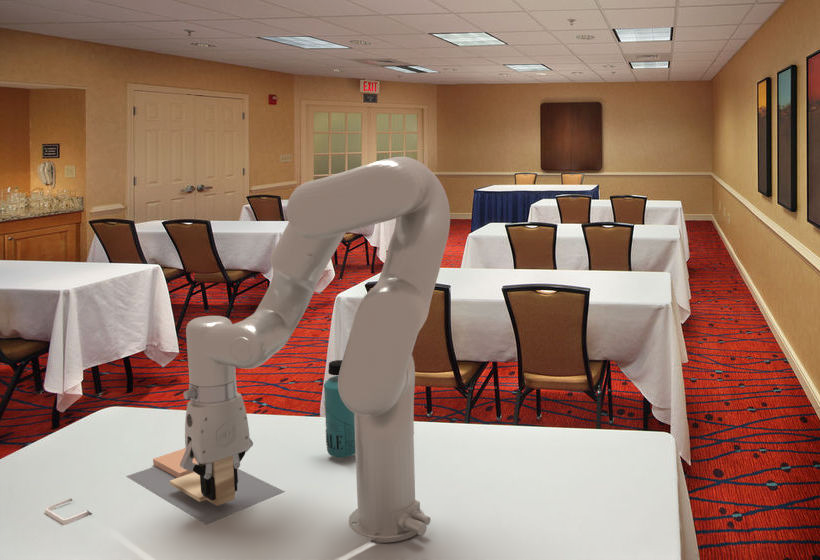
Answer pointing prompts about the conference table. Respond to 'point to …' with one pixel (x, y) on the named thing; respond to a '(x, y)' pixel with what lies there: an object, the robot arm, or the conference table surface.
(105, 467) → the conference table surface
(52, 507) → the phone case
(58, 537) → the conference table surface
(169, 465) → the tile
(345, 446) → the beverage bottle
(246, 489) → the slate board
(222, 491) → the stepped wooden block
